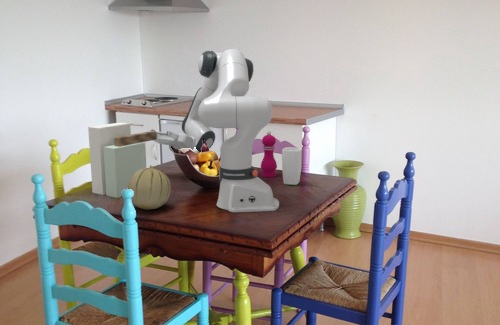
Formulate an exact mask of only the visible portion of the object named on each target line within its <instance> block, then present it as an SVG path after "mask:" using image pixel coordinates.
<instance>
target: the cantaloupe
mask: <svg viewBox="0 0 500 325" xmlns="http://www.w3.org/2000/svg"><path fill="white" fill-rule="evenodd" d="M128 189H132V190H133V191H134V197H133V198H132V201H131V202H132V204H134V205H135V206H136V207H138V208H140V209H142V210H148V211H149V210H155V209H159V208H160V207H162V206H163V205H165V204H166V202H167V201H168V200H169V197H170V195H171V190H172V187H171V182H170V179H169V177H168V176H167V175H166V174H165V173H164V172H163V171H161V170H159V169H157V168H155V167H154V166H152V165H149V167H146V168H144V169H140V170H138V171H137V172H136V173H135V174H134V175H133V176H132V177H131V179H130V181H129V184H128Z"/></svg>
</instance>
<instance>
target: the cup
mask: <svg viewBox="0 0 500 325" xmlns="http://www.w3.org/2000/svg"><path fill="white" fill-rule="evenodd" d="M302 150H303V149H302V147H291V146H290V147H289V146H288V147H287V146H286V147H284V148H282V150H281V168H282V169H281V170H282V179H283V180H282V182H283V184H284V185H286V186H297V185H298V184H299V183H300V179H301V172H302V158H303V156H302V153H303V152H302Z"/></svg>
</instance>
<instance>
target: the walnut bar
mask: <svg viewBox="0 0 500 325" xmlns="http://www.w3.org/2000/svg"><path fill="white" fill-rule="evenodd" d="M155 131H156V130H155ZM155 131H150V130H149V131H145V132H140V133H133V134H131V135H127V136H121V137H115V138H114V144H115V146H118V147H121V146H126V145H131V144H136V143H141V142H145V143H146V142H150V141H153V140H156V139H157V134H156V132H155Z"/></svg>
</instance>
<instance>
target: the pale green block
mask: <svg viewBox="0 0 500 325" xmlns="http://www.w3.org/2000/svg"><path fill="white" fill-rule="evenodd" d="M103 149H104V166H105V182H106V194H105V196H106V197H109V198H116V199H118V198H122V197H121V194H120V193H121V191H122V190H123V189H127V188H128V184H129V181H130V179H131V177H132V176H133V175H134V174H135V173H136V172H137V171H138V170H140V169H144V168H147V149H146V142H141V143H136V144H131V145H126V146H121V147H118V146H115V145H112V146H107V147H103Z"/></svg>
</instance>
